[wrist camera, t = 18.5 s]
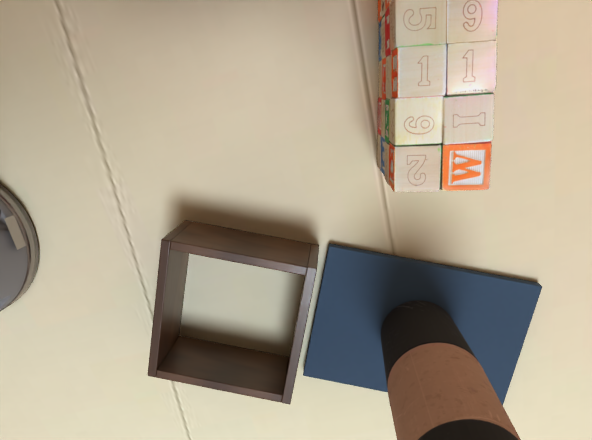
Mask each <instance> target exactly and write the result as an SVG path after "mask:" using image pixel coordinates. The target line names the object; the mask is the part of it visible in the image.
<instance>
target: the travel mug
mask: <svg viewBox="0 0 592 440" xmlns="http://www.w3.org/2000/svg"><path fill="white" fill-rule="evenodd" d="M381 344H382V352H383V360H384V367H385V375H386V382H387V389H388V396H389V401H390V406H391V411H392V416H393V421H394V426H395V431H396V436H397V440H520V438H519V436H518V434H517V432H516V430H515V428H514V426H513V425H512V423H511V421H510V419H509V417H508V415H507V413H506V411H505V409H504V408H503V406H502V404H501V402H500V400H499V398H498V396H497V394H496V393H495V391H494V389H493V387H492V385H491V383H490V381H489V379H488V377H487V376H486V374H485V372H484V370H483V368H482V366H481V365H480V363H479V361H478V360H477V358H476V356H475V355H474V353H473V352H472V350H471V348H470V347H469V345H468V344H467V342H466V340H465V339H464V337H463V335H462V334H461V332H460V331H459V329H458V327H457V326H456V324H455V323H454V321H453V320H452V318H451V317H450V315H449V314H448V313H447V312H446V311H445V310H444V309H443V308H441V307H440V306H438V305H436V304H434V303H432V302H428V301H422V300H415V301H409V302H405V303H403V304H401V305H399V306H397V307H396V308H394V309H393V310H392V311H391V312H390V313H389V314H388V315H387V317H386V318H385V320H384V322H383V325H382V328H381Z"/></svg>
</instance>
